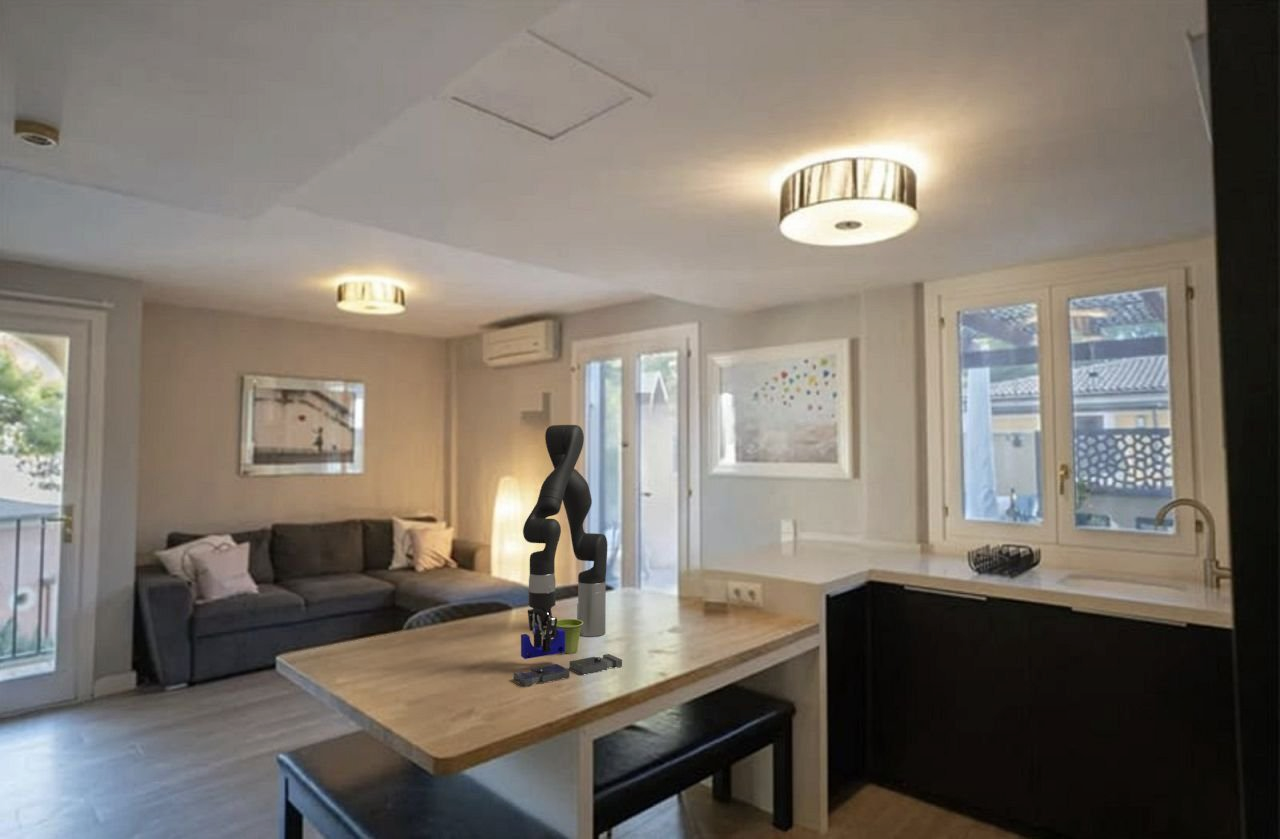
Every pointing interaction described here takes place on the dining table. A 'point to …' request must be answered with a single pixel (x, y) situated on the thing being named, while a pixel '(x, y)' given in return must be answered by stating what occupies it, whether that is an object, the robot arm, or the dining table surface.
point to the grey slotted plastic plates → (560, 672)
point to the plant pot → (570, 633)
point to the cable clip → (531, 652)
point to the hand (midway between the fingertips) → (542, 649)
